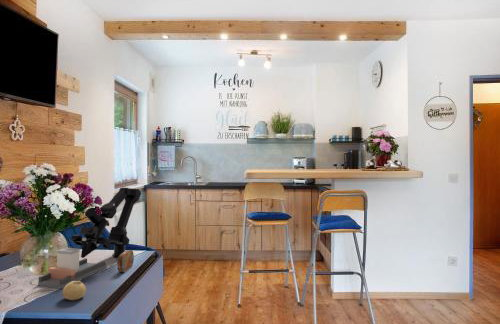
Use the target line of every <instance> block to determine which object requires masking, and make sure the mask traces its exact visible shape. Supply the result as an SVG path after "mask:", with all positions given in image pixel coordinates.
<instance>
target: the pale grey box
mask: <svg viewBox="0 0 500 324" xmlns="http://www.w3.org/2000/svg"><path fill="white" fill-rule="evenodd" d="M80 251H81V250H80V248H76V247H75V248H74V247H63V248H61V249H57V250H56V253H57V254H56V256H57V260H56V265H57V267H56V268H64V269H73V270H75V273H76V272H78V271H79V261H80Z"/></svg>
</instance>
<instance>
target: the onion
mask: <svg viewBox="0 0 500 324" xmlns="http://www.w3.org/2000/svg"><path fill="white" fill-rule="evenodd" d="M81 280H82V279H80V280H79V281H72V282H70V283H68V284H67V285H66V286H65V287H64V288H63V289H62V292H61V294H62V297H63V298H64V299H65V300H66V301H77V300H80V299H81V298H83V297H84V296H85V295H86V292H87V287H86V285H85V284H84V283H83V282H82V281H81Z"/></svg>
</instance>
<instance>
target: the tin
mask: <svg viewBox="0 0 500 324" xmlns="http://www.w3.org/2000/svg"><path fill="white" fill-rule="evenodd" d="M134 260H135V256H134V251H133V250H132V249H129V250H128V249H125V252H123V253H122V254H121V255H119V257H117V261H116V262H117V270H118V273H126V272H127V271H129V270H130V269H131V267H133V264H134Z"/></svg>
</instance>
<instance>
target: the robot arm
mask: <svg viewBox="0 0 500 324" xmlns="http://www.w3.org/2000/svg"><path fill="white" fill-rule="evenodd" d="M141 195H142V192H141V190H140V188H131V187H120V188H119V190H118V191H117V193H116V194H114V196H113V197H112V198H111V199H110V201H109V202H107V203H105V204H103V205H102V206H100V207H98V206H97V205H94V206H95V208H92V207H90V208H88V209H87V210H86V211H85V212H84V215H85V217H86V218H87V220H89V221H90V223H91V224H92V226H81V227H80V230H79V234H73V235H71V238H70V241H71V242H72V243H73V244H74V245H76V246H79V247H81V254H80V258H82V259H85V258H86V257H87V256H88V255H90V254H91V253H92V252H94V251H95V250H98V249H99V246H100V245H102V247H103V248H104V249H110V247H111V245H113V253H112V257H113V258H118V257H119V255H121V254H122V253H123V252H125V251H126V246H128V245H130V238H129V237H128V236H127V235H128V231H127V225H128V222H129V220H130V217H131V213H132V211H133V208H134V206H135V204H136V203H137V202H138V201H139V200H140V197H141ZM123 201H124V204H123V207H122V209H121V213H120V216H119V218H118V221H117V223H116V225H115V226H112V227H110V222H109V220H107V219H113V218H114V217H115V215H116V214H117V208H118V207H119V206H120V205H121V203H122V202H123ZM96 208H98V209H101V211H102V214H100V216H99V215H97V214H96V213H95V210H96ZM106 227H110V232H109V233H108V234H109V235H108V237H107V236H106V237H103V236H104V232H105V231H104V230H105V229H106ZM81 234H82V235H83V236H82V235H81Z"/></svg>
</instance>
